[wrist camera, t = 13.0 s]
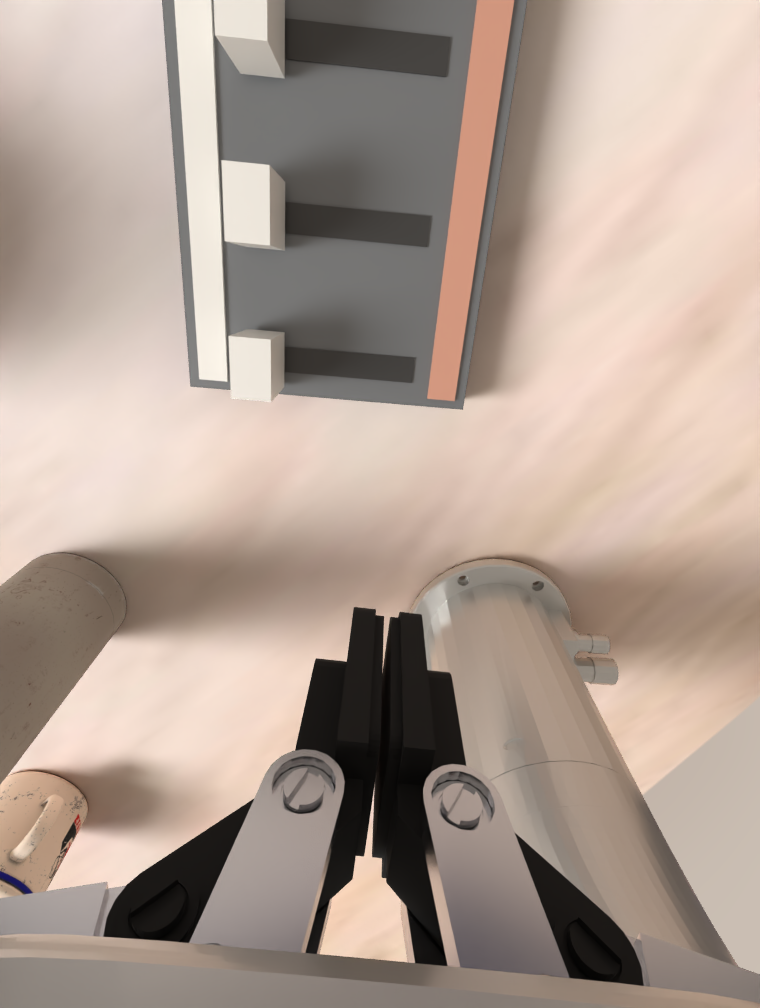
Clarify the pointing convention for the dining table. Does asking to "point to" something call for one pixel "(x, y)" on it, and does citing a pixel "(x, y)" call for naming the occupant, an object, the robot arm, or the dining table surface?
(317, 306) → the grey slider switch panel
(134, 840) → the dining table surface
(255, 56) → the block
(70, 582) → the thermos bottle
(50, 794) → the teacup with lid
